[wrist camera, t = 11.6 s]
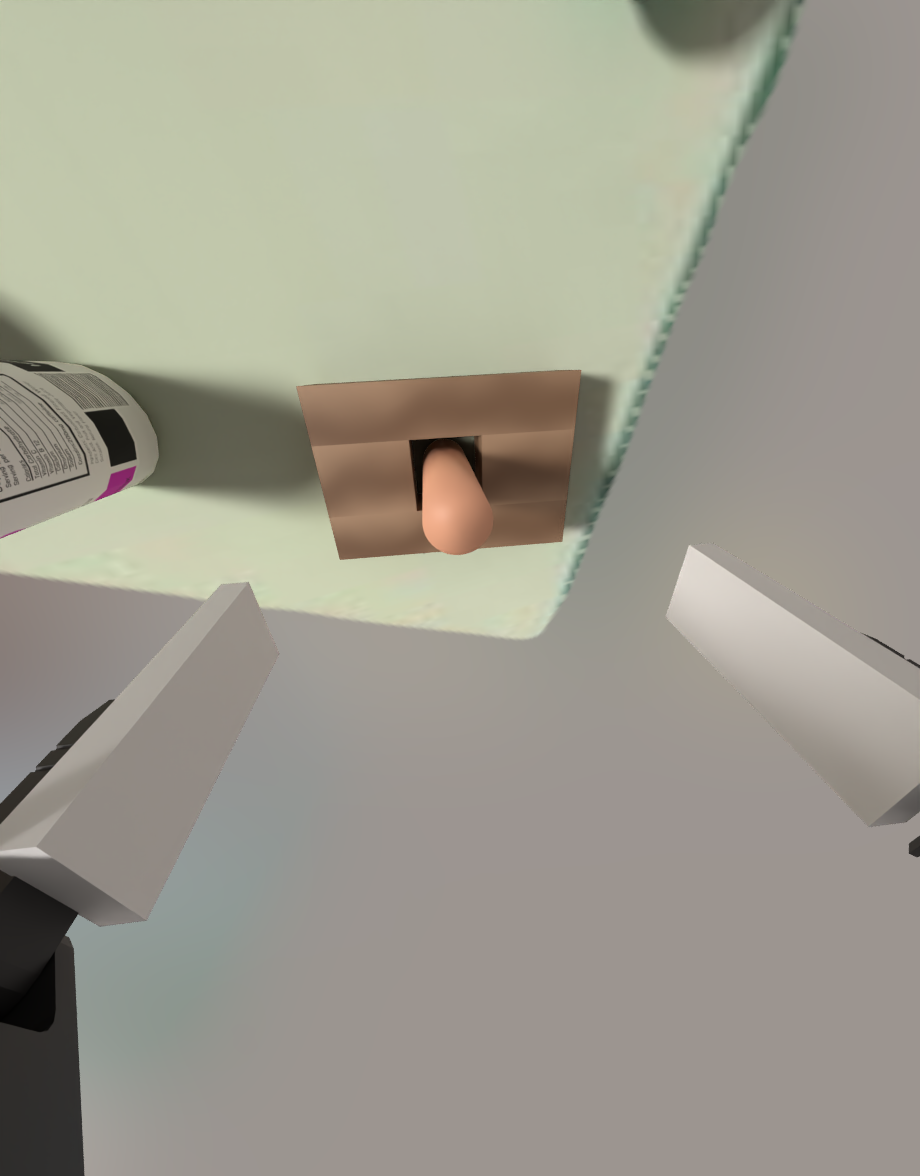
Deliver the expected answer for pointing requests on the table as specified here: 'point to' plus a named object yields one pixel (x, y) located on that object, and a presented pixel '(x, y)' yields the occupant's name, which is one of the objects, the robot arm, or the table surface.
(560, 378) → the hole block
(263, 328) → the table surface
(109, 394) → the supplement can
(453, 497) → the dowel pin
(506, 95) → the table surface
